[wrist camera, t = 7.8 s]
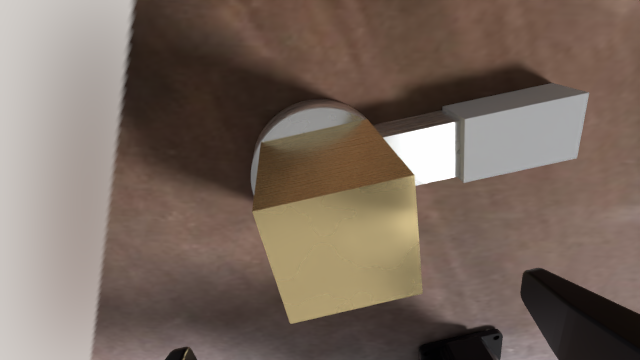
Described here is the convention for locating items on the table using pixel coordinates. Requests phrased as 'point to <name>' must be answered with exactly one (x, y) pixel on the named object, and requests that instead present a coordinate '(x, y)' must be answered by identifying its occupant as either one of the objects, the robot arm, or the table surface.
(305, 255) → the wooden toy block
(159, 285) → the table surface
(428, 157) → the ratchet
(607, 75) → the table surface
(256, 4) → the table surface
